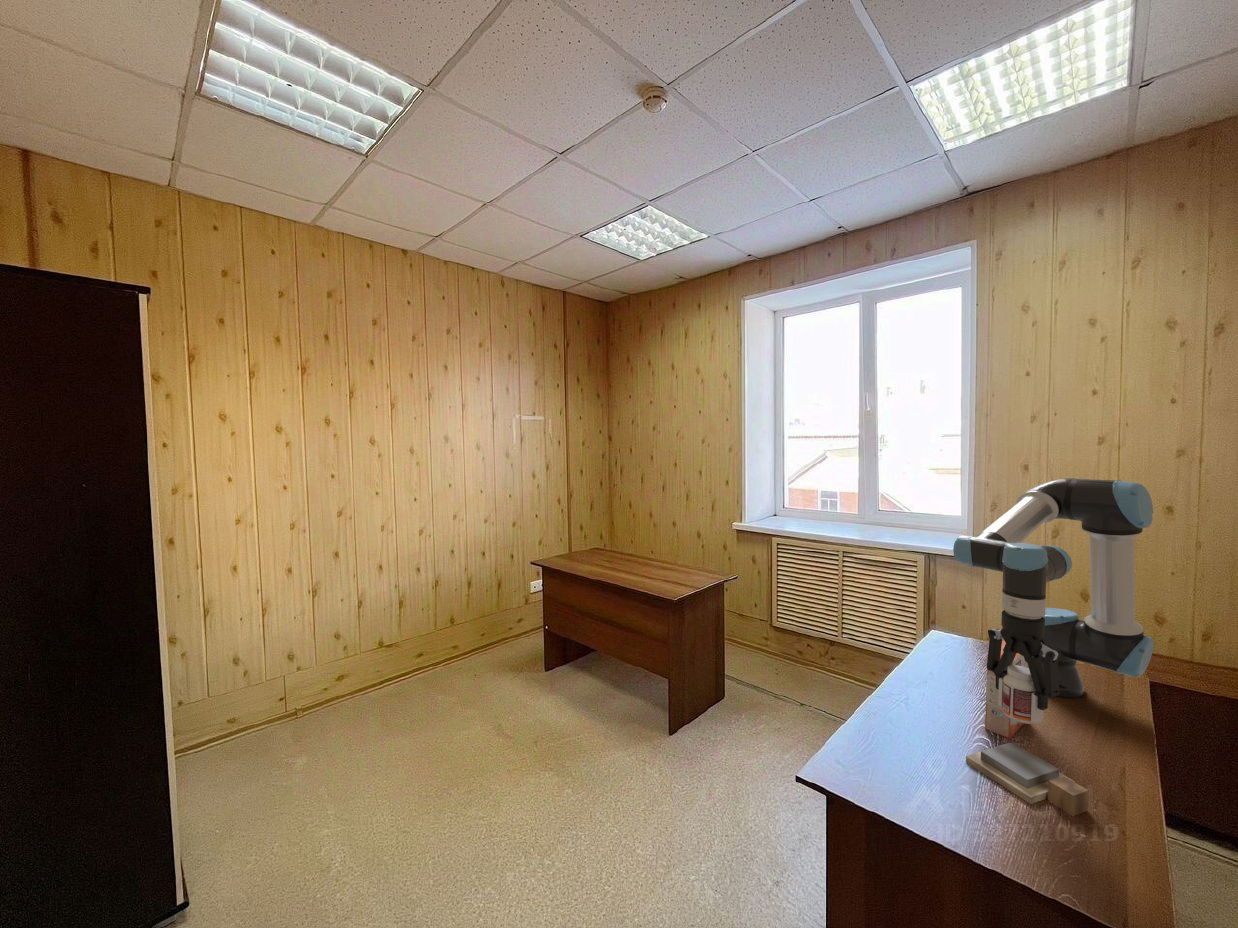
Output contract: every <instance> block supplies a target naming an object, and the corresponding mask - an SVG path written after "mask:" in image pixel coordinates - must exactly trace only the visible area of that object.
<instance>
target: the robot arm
mask: <svg viewBox="0 0 1238 928" xmlns="http://www.w3.org/2000/svg"><path fill="white" fill-rule="evenodd" d="M1152 501H1153V500H1152V498H1151V495H1150V493H1149V491H1148V489H1147V487H1145V486H1144V485H1143V484H1141V483H1139V482H1133V481H1131V482H1130V481H1122V480H1119V479H1118V480H1116V479H1115V480H1114V479H1113V480H1111V479H1089V478H1087V479H1086V478H1059V479H1054V480H1049V481H1046V482H1043V483H1041V484H1038V485H1036V486H1034V487H1032V488H1030V489H1028V490H1026V491H1025V492H1023V493H1022V494H1020V496H1019V497H1018V498H1017V500H1016V504H1015V505H1013V506H1012V507H1011V508H1009V509H1008V510H1007V511H1006V512H1005V513H1004V514H1002V515H1001V516H1000V517H998V518H997V519H996V520H995V521H994V522H992V523H991V524H990V525H988V526H987V527H986V528H985V529H984V530H982V531H981V532H980V533H979V534H977V535H976V536H973V535H959V536H958V537H957V538H956V539H955V541H954V544H953V549H952V550H953V551H952V552H953V557H954V559H955V560H956V561H957V562H958V563H959V564H962V565H967V566H970V567H973V568H974V567H975V568H980V569H985V570H991V571H996V572H1001V573H1002V588H1001V590H1002V591H1001V595H1002V596H1001V608H1002V609H1003V610H1002V611H1001V626H1002V628H1001V629H999V628H991V629H988V630H987V635H988V639H989V642H988V651H987V660H986V670H987V669H988V670H989V671H992V672H993V673H994V674H995V676H996V689H998V690H999V696H998V705H999V706H1001V707H1003V679H1004V676H1005V675H1008V674H1007V673H1008V672H1007V670H1008V666H1009V665H1011V664H1012V662H1013V660H1014V658H1015V656H1016V654H1017V653H1019V654H1020V655H1022V656H1024V659H1025V661H1026V662H1027V664H1028V667H1029V670H1030V674H1031V677H1032V681H1033V684H1034V687H1035V691H1036V692H1034V693H1032V701H1031V722H1032V723H1033V724H1038V723H1042V722H1044V711H1045V710H1047V709H1048V707H1049V698H1052V697H1053V698H1054V697H1060V698H1078V697H1081V696H1084V690H1085V689H1084V688H1085V686H1084V682H1083V680H1082V677H1081V675H1080V672H1079V668H1078V667H1077V661H1078V662H1081V663H1085V664H1087V665H1091V666H1094V667H1098V668H1100V669H1105V670H1106V671H1111V672H1114V673H1116V674H1122V675H1125V676H1129V677H1132V678H1136V677H1137V678H1138V677H1140V676H1142V675H1143V674H1144V672H1145V671H1146V670H1147V669H1148V667H1149V663H1150V661H1151V658H1152V655H1153V652H1154V646H1155V643H1154V639H1153V638H1152V637H1151V636H1148V635H1144V627H1143V625H1141V623H1140V622H1138V621H1136V595H1135V593H1136V588H1135V587H1136V585H1135V583H1136V582H1135V581H1136V580H1135V577H1136V575H1135V569H1136V567H1135V561H1136V560H1135V538H1136V537H1138V536H1140V535H1142V534H1143V531H1144V530H1143V529H1147V528H1149V527H1150V526H1151V525H1152V523H1153V519H1154V518H1153V514H1154V507H1153V502H1152ZM1059 519H1062V520H1063V519H1064V520H1070V521H1080V523H1081V530H1082V531H1084V532H1085V533H1086V534H1088V536H1089V566H1090V567H1089V569H1090V571H1089V576H1090V580H1089V581H1090V609H1091V611H1090V612H1091V613H1090V614H1088V615H1087V616H1085V617H1084V619H1083V620H1081V619H1080V617H1079V614H1078V613H1077V612H1075V611H1072V610H1069V609H1064V608H1063V609H1062V608H1055V607H1047V606H1046V605H1047V601H1046V600H1047V597H1046V596H1047V583H1049V582H1052V581H1055V580H1059V579H1062V578H1063V577H1065V576H1066V575H1067V574H1069V573H1070V571H1071V570H1072V566H1073V562H1072V561H1073V560H1072V558H1071V556H1070V554H1069V553H1068V552H1067V551H1066V550H1064V549H1063V548H1062V547H1059V546H1056V545H1040V544H1039V545H1038V544H1035V543H1026V542H1023V541H1024V540H1026V539H1027V538H1028V537H1029V536H1030V535H1031V534H1032V533H1033V532H1035V531H1036V530H1037V529H1038V528H1039V527H1040V526H1042V525H1043V524H1045V523H1050V522H1052V521H1054V520H1059ZM1003 641H1005V642H1006V644H1005V647H1004V649H1003V651H1004V652H1003V654H1002V657H1001V659H1000V655H1001V646H1002V642H1003Z"/></svg>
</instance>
